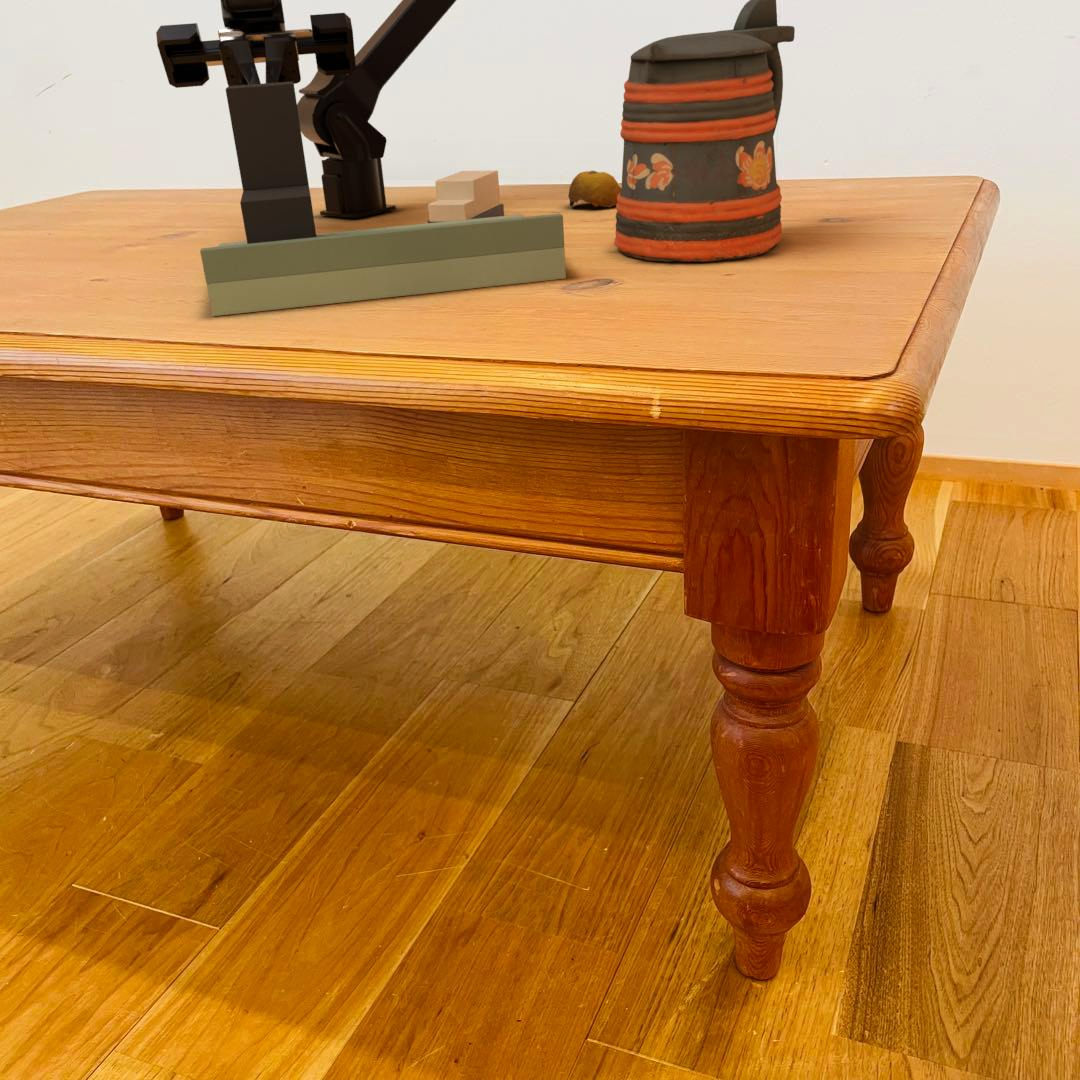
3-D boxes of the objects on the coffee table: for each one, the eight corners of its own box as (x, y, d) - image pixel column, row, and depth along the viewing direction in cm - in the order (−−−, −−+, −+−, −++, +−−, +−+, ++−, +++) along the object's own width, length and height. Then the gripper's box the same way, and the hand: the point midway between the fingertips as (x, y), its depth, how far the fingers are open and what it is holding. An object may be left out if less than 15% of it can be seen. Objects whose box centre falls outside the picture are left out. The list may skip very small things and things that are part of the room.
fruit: (653, 200, 120) (653, 166, 119) (607, 212, 115) (606, 176, 113) (596, 196, 126) (595, 163, 124) (549, 208, 120) (547, 173, 119)
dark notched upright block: (254, 240, 98) (228, 86, 92) (315, 235, 98) (293, 81, 93) (251, 266, 87) (220, 92, 81) (319, 259, 88) (294, 87, 82)
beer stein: (698, 219, 108) (699, -3, 99) (833, 229, 99) (847, -14, 91) (582, 255, 95) (572, 4, 87) (726, 270, 87) (731, -8, 78)
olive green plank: (224, 271, 99) (213, 215, 96) (522, 241, 103) (519, 186, 101) (212, 316, 83) (199, 250, 80) (566, 278, 87) (563, 215, 85)
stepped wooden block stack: (466, 218, 117) (461, 170, 115) (504, 218, 116) (501, 169, 114) (428, 235, 109) (423, 184, 107) (469, 235, 107) (465, 183, 105)
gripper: (136, -70, 100) (148, 62, 96) (337, -81, 103) (359, 46, 98) (164, 24, 111) (176, 147, 106) (345, 11, 114) (366, 130, 109)
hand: (268, 117), depth 104 cm, fingers closed
